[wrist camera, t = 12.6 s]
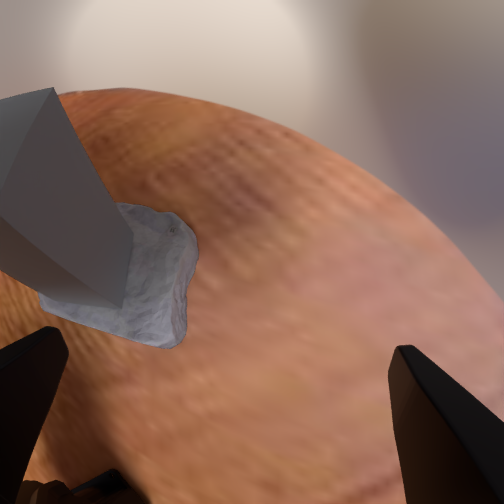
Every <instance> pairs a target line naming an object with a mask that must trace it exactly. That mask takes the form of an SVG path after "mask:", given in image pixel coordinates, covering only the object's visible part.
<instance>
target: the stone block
mask: <svg viewBox="0 0 504 504" xmlns="http://www.w3.org/2000/svg"><path fill="white" fill-rule="evenodd" d="M115 204H116V206H117V208H118V209H119V211H120V213H121V214H122V216H123V218H124V219H125V221H126V223H127V224H128V226H129V227H130V229H131V231H132V232H133V234H134V236H133V242H132V247H131V253H130V259H129V265H128V271H127V277H126V284H125V290H124V298H123V305H122V310H121V309H112V308H103V307H95V306H87V305H79V304H72V303H64V302H57V301H54V300H52V299H50V298H48V297H46V296H45V295H43V294H41V293H39V292H38V296H39V299H40V302H39V303H40V305H41V307H42V309H43V311H46V312H48V313H51V314H54V315H56V316H59V317H62V318H64V319H67V320H70V321H73V322H76V323H79V324H82V325H85V326H88V327H91V328H95V329H98V330H101V331H104V332H107V333H110V334H113V335H117V336H120V337H123V338H126V339H129V340H132V341H135V342H139V343H142V344H147V345H151V346H155V347H159V348H163V349H165V348H167V349H171V348H173V347H175V346H176V345H178V344H179V343H181V341H182V340H183V338H184V336H185V335H186V330H187V312H186V309H187V297H186V293H187V288H188V285H189V282H190V280H191V278H192V276H193V275H194V272H195V268H196V263H197V260H198V257H199V250H198V247H197V239H196V236H195V234H194V232H193V230H192V229H191V228H190V227H189V226H188V225H187V224H186V223H185V222H184V221H183V220H181V219H180V218H179V217H178V215H176V214H175V213H172V212H162V213H160V212H157V211H154V210H153V209H152V208H150V207H146V206H143V205H136V204H134V205H132V204H128V203H124V202H123V203H115Z"/></svg>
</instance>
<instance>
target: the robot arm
mask: <svg viewBox="0 0 504 504" xmlns="http://www.w3.org/2000/svg"><path fill="white" fill-rule="evenodd" d="M68 356H69V351H68V348H67V345H66V343H65V341H64V339H63V336H62V334H61V332H60V330H59V329H58V328H56V327H50V326H46V327H44V328H42V329H40V330H38V331H36V332H34V333H32V334H30V335H28V336H26V337H24V338H22V339H20V340H18V341H16V342H14V343H12V344H10V345H8V346H6V347H4V348H2V349H0V504H144V502H143V501H142V500H141V499H140V498H139V496H138V495H137V494H136V493H135V492H134V490H133V489H131V487H130V486H129V485H128V484H127V482H126V481H125V480H124V478H123V477H122V476H121V475H120V473H119V472H118V471H117V470H115V469H110V470H108V471H106V472H104V473H103V474H101V475H99V476H97V477H95V478H94V479H92V480H90V481H88V482H86V483H84V484H82V485H80V486H78V487H76V488H74V489H73V490H71V491H70V490H69V488H68V487H67V486H66V485H65V484H64V482H61V481H58V480H54V481H51V482H48V483H46V484H43V483H40V482H38V481H29V480H25V481H23V478H24V475H25V472H26V469H27V466H28V463H29V460H30V458H31V455H32V452H33V449H34V447H35V444H36V441H37V439H38V436H39V434H40V431H41V429H42V426H43V424H44V421H45V419H46V416H47V414H48V412H49V409H50V407H51V405H52V402H53V400H54V397H55V394H56V391H57V388H58V385H59V382H60V379H61V376H62V374H63V371H64V368H65V365H66V362H67V360H68ZM388 383H389V391H390V400H391V410H392V420H393V430H394V435H395V441H396V446H397V451H398V456H399V461H400V467H401V472H402V478H403V484H404V490H405V497H406V503H407V504H504V422H503V421H502V420H500V419H499V418H498V417H497V416H496V415H495V414H494V413H492V412H491V411H490V410H489V409H488V408H487V407H486V406H484V405H483V404H482V403H481V402H480V401H479V400H478V399H476V398H475V397H474V396H473V395H472V394H471V393H469V392H468V391H467V390H466V389H465V388H464V387H462V386H461V385H460V384H459V383H458V382H456V381H455V380H454V379H453V378H452V377H451V376H449V375H448V374H447V373H446V372H445V371H443V370H442V369H441V368H440V367H439V366H438V365H436V364H435V363H434V362H433V361H432V360H430V359H429V358H428V357H427V356H426V355H424V354H423V353H422V352H421V351H420V350H418V349H417V348H416V347H415V346H413V345H399V346H397V347H396V348H395V350H394V354H393V357H392V360H391V363H390V367H389V370H388ZM112 473H113V474H114V475H115V477H113V476H112Z"/></svg>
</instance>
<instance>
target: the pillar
mask: <svg viewBox="0 0 504 504" xmlns="http://www.w3.org/2000/svg"><path fill="white" fill-rule="evenodd" d="M133 236H134V234H133V232H132V231H131V229H130V227H129V226H128V224H127V223H126V221H125V219H124V218H123V216H122V214H121V213H120V211H119V209H118V208H117V206H116V204H115V203H114V201H113V199H112V197H111V196H110V194H109V192H108V191H107V189H106V187H105V185H104V184H103V182H102V180H101V178H100V177H99V175H98V173H97V171H96V169H95V168H94V166H93V164H92V162H91V160H90V159H89V157H88V155H87V153H86V151H85V149H84V147H83V146H82V144H81V142H80V140H79V138H78V136H77V134H76V132H75V130H74V128H73V126H72V124H71V122H70V120H69V118H68V116H67V114H66V112H65V110H64V108H63V106H62V104H61V102H60V100H59V98H58V96H57V94H56V92H55V90H54V87H52V88H47V89H42V90H38V91H33V92H29V93H25V94H21V95H16V96H13V97H9V98H5V99H1V100H0V270H1V271H3V272H4V273H6V274H8V275H9V276H11V277H13V278H14V279H16V280H18V281H19V282H21V283H23V284H25V285H26V286H28V287H30V288H32V289H34V290H35V291H37V292H39V293H41V294H43V295H45V296H46V297H48V298H50V299H52V300H54V301H57V302H64V303H72V304H79V305H87V306H95V307H103V308H112V309H121V310H122V305H123V298H124V290H125V284H126V277H127V271H128V265H129V259H130V253H131V247H132V242H133Z"/></svg>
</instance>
